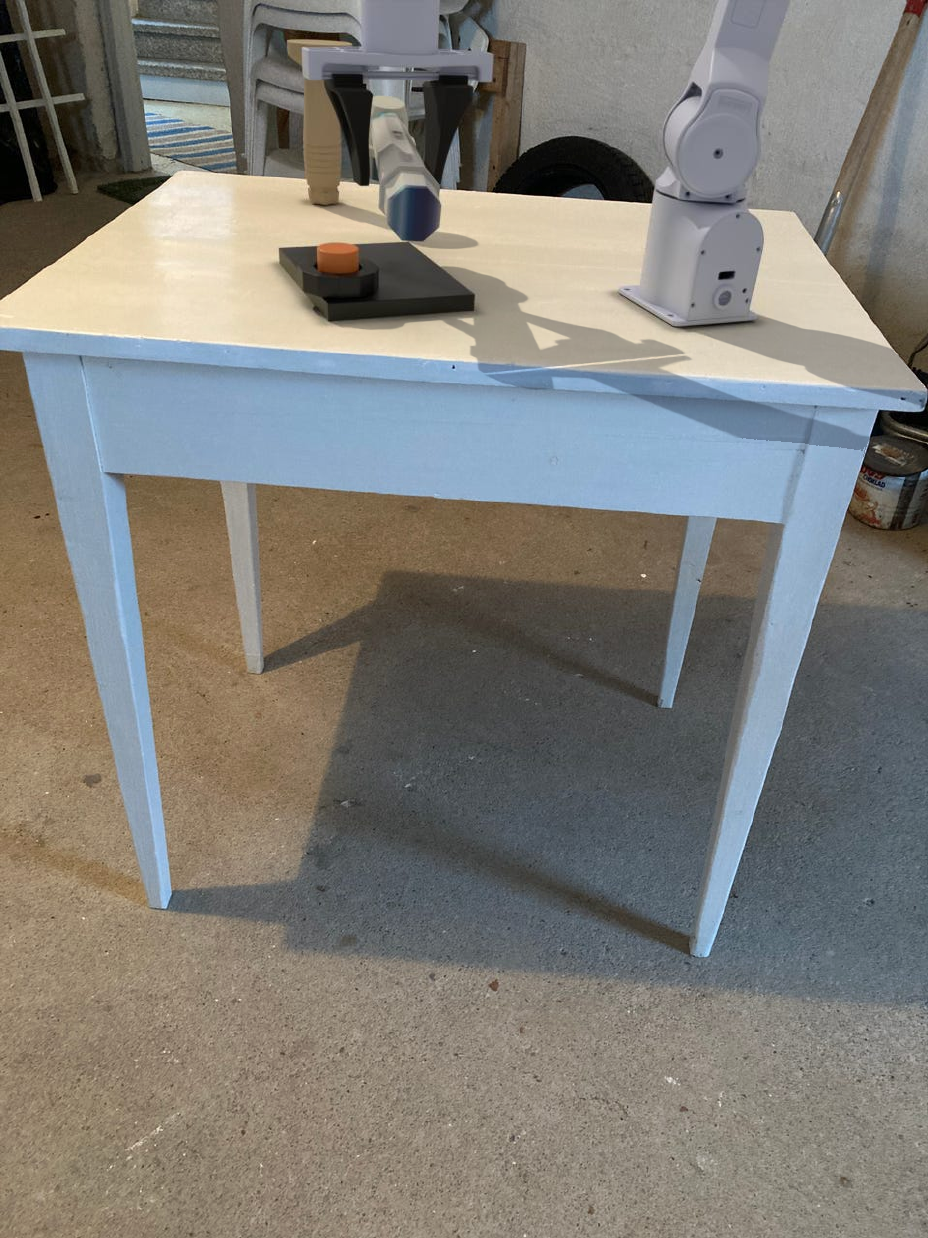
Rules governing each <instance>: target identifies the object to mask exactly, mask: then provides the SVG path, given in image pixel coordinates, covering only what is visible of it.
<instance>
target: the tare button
mask: <svg viewBox="0 0 928 1238" xmlns="http://www.w3.org/2000/svg"><path fill="white" fill-rule="evenodd" d="M352 244H353V243H348V242H339V241H336V242H325V243H322V244H318V245H317V246H318V247H317V264H318V270H320V271H323V272H328V273H353V272H356V271H359V248H358V247H357V246H355V245H352Z"/></svg>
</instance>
